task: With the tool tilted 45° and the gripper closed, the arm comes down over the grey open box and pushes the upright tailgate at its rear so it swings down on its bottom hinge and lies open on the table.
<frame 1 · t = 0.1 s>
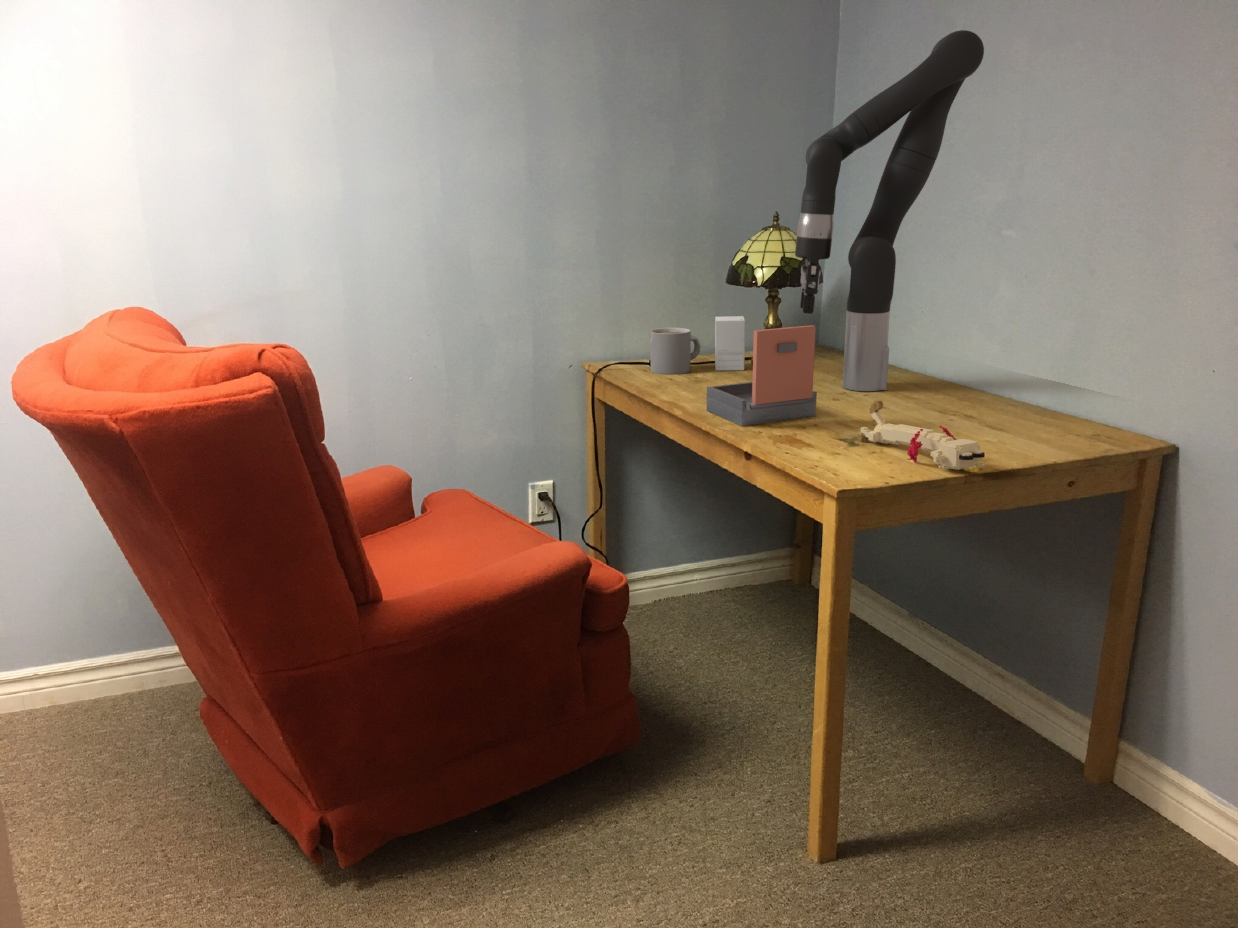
hand: (806, 310, 203), 17 cm above the table, tool pointing down, fingers open, 8 cm apart
supplement box: (729, 368, 231), on the table
coffee mug: (676, 370, 230), on the table
tailgate: (784, 368, 175), point 11 cm above the table, hinge at 0.0°
grey open box: (760, 413, 186), on the table
cream blocky figure: (920, 458, 156), on the table
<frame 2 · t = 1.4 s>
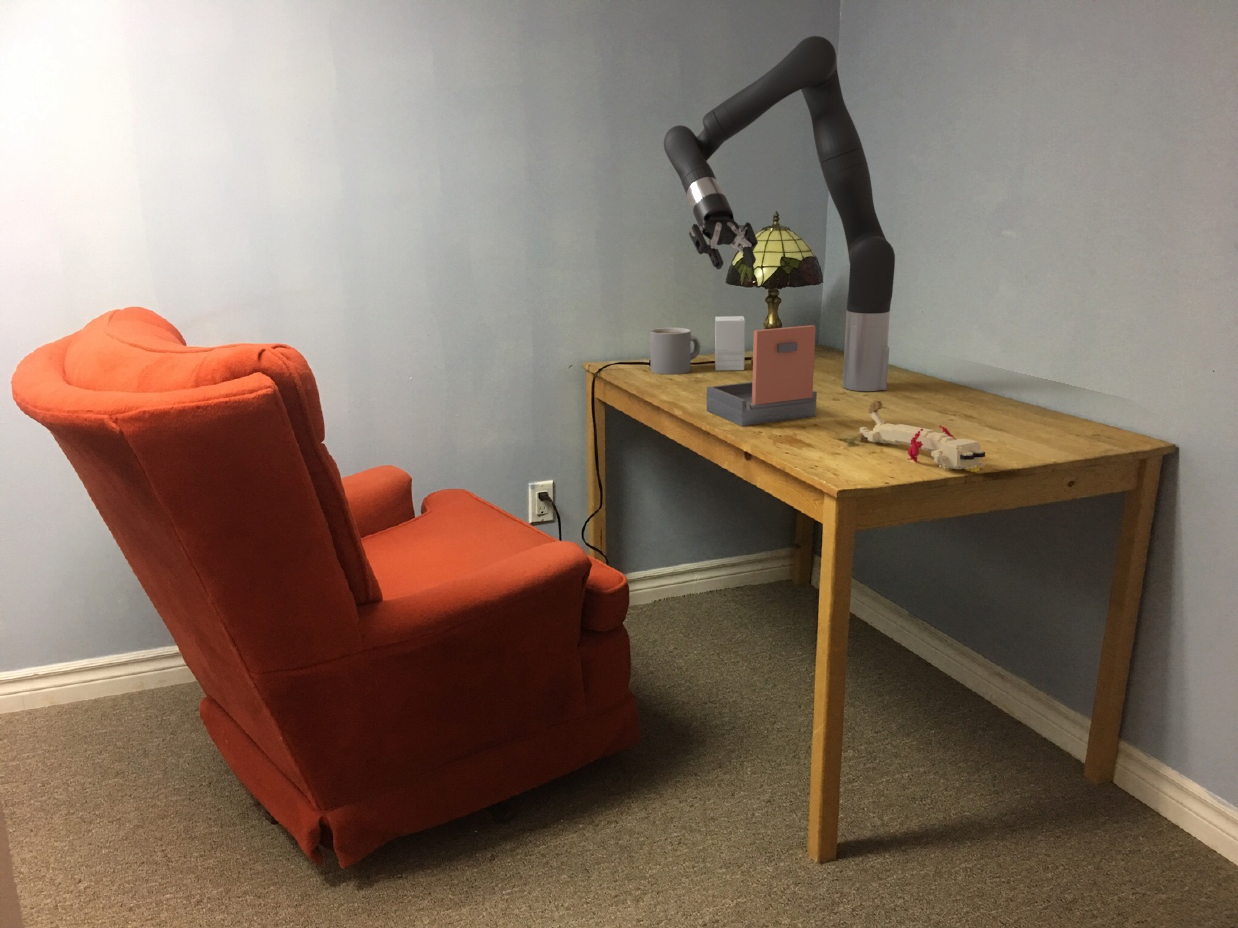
hand: (736, 265, 186), 29 cm above the table, tool tilted 45°, fingers open, 7 cm apart
nothing on the table moved.
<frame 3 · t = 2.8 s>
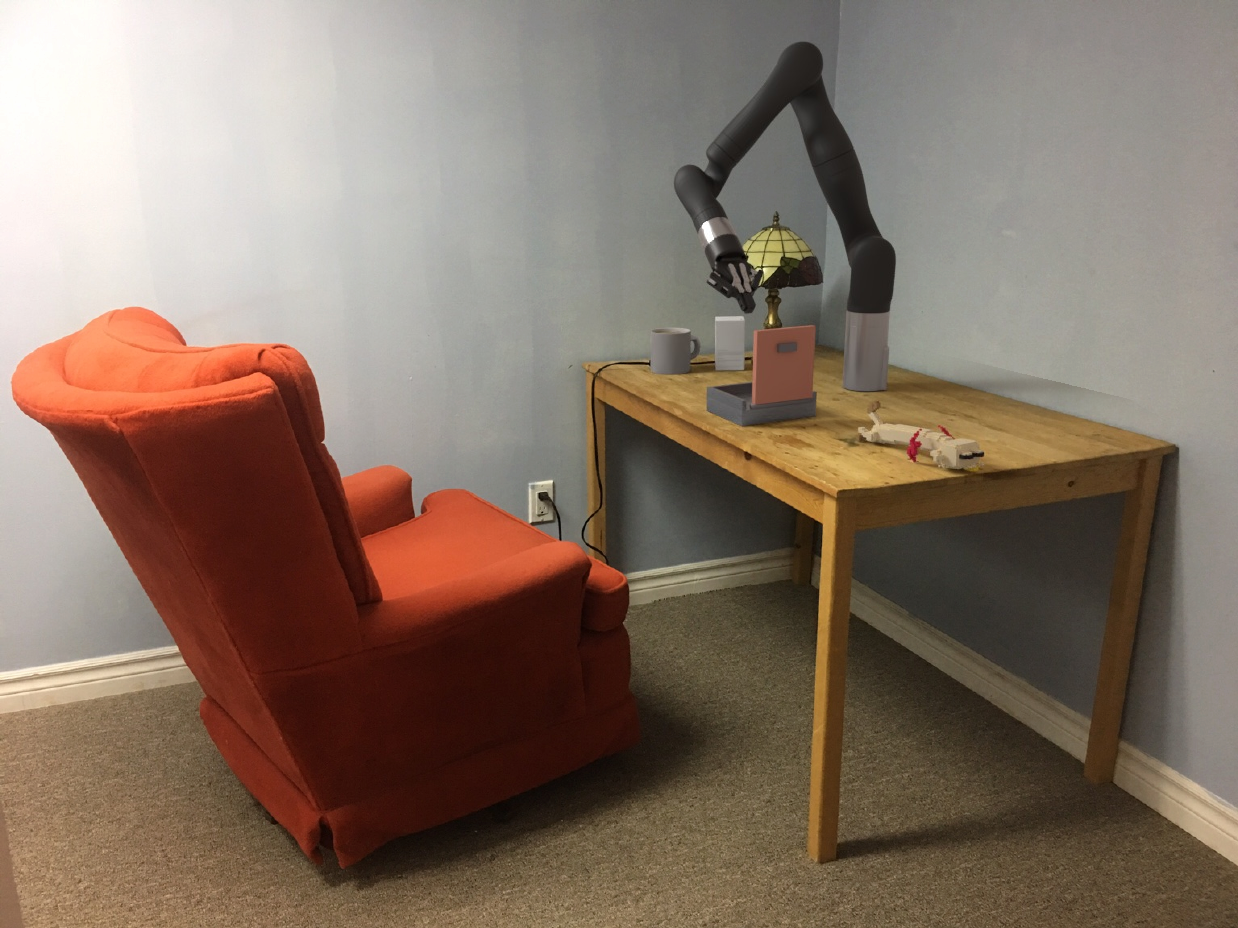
hand: (750, 311, 184), 20 cm above the table, tool tilted 45°, fingers closed
nothing on the table moved.
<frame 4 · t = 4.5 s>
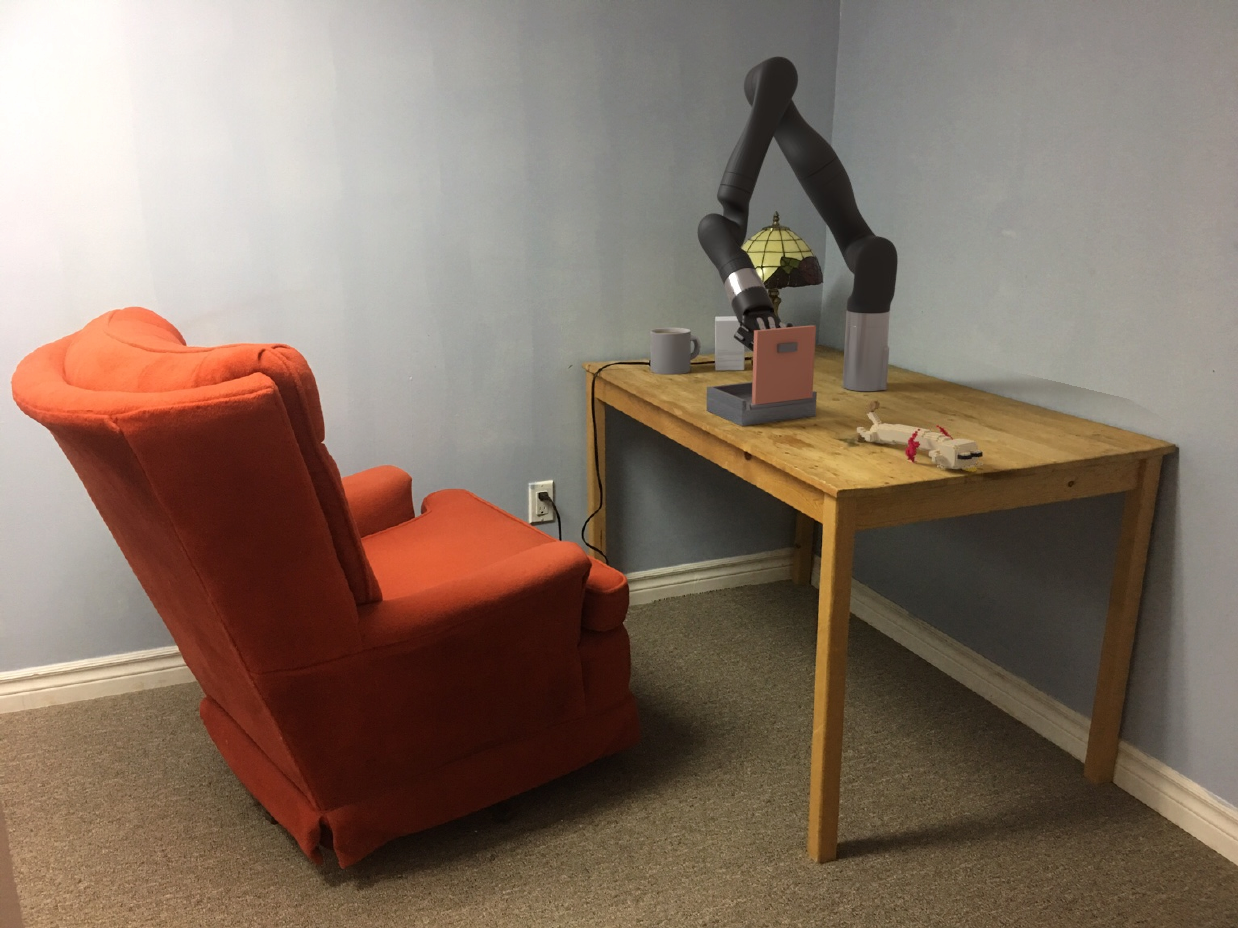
hand: (779, 367, 177), 11 cm above the table, tool tilted 45°, fingers closed
tailgate: (784, 368, 175), point 11 cm above the table, hinge at 0.4°, touching gripper
everything else where it was.
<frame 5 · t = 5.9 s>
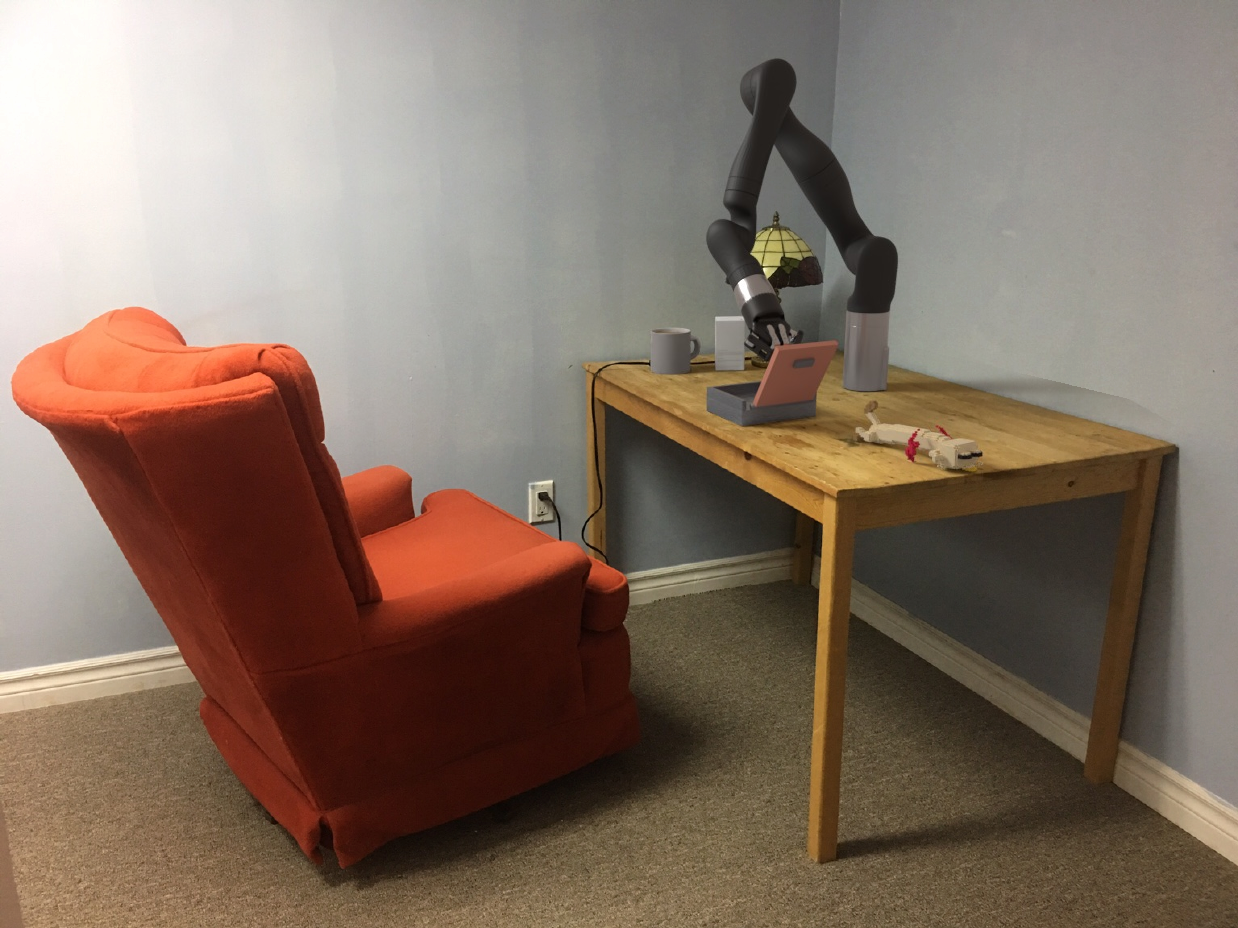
hand: (790, 375, 173), 10 cm above the table, tool tilted 45°, fingers closed
tailgate: (795, 377, 173), point 10 cm above the table, hinge at 31.3°, touching gripper
everything else where it was.
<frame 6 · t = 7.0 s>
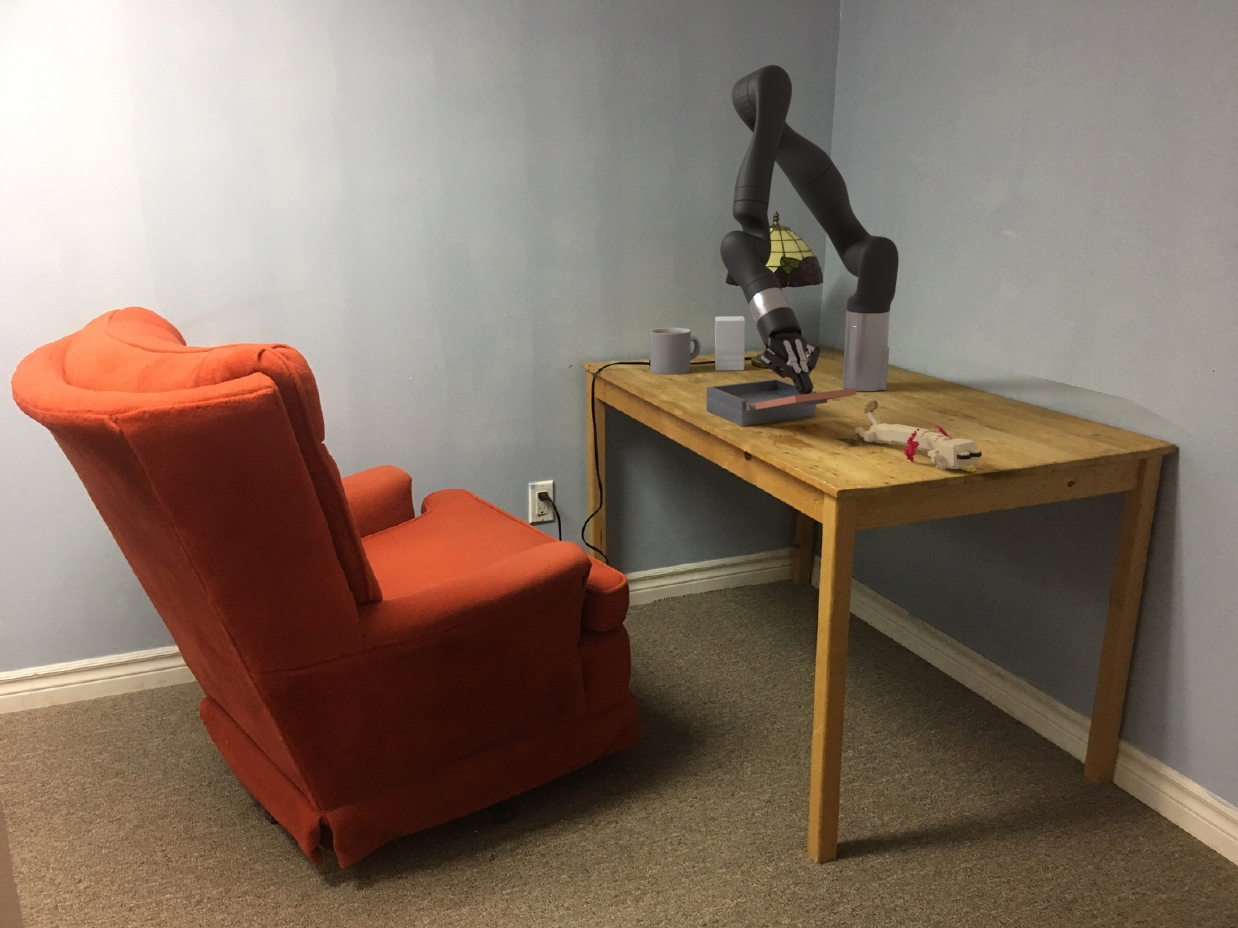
hand: (807, 393, 169), 8 cm above the table, tool tilted 45°, fingers closed
tailgate: (802, 401, 171), point 6 cm above the table, hinge at 72.5°
everything else where it was.
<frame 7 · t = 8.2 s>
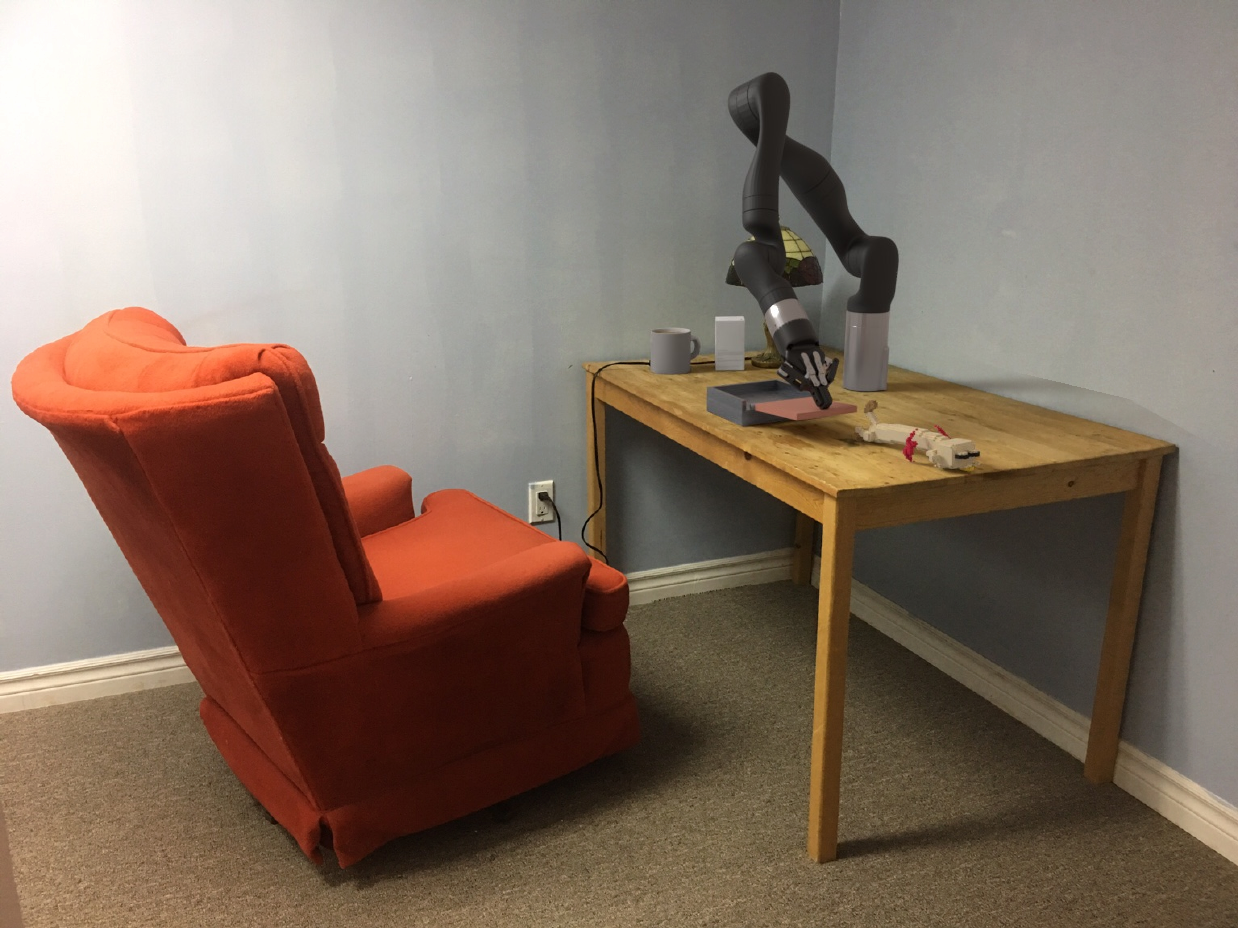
hand: (826, 406, 164), 6 cm above the table, tool tilted 45°, fingers closed
tailgate: (803, 409, 171), point 4 cm above the table, hinge at 85.3°
everything else where it was.
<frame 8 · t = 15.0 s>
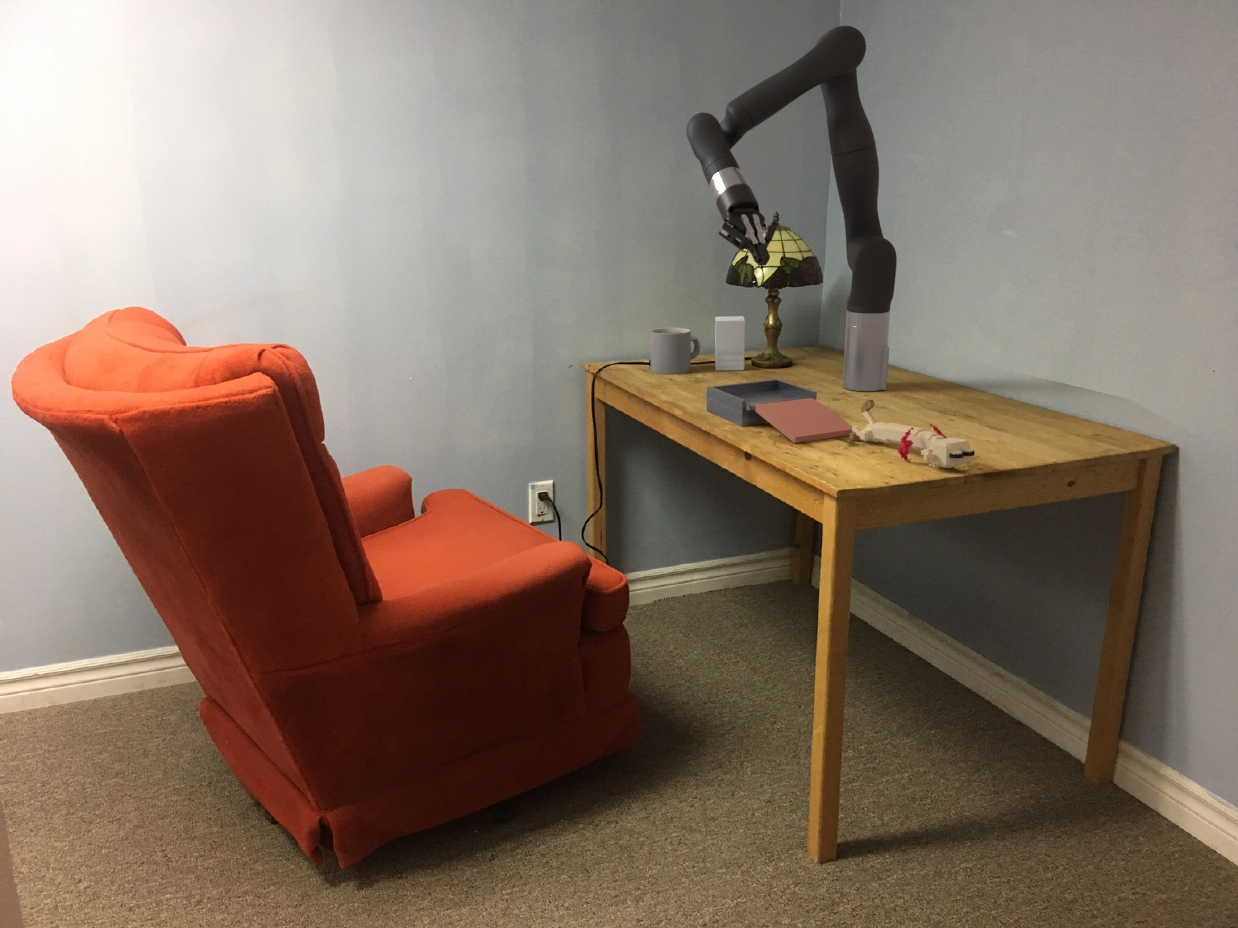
hand: (764, 262, 177), 30 cm above the table, tool tilted 45°, fingers closed
tailgate: (801, 419, 172), point 2 cm above the table, hinge at 102.4°
at the end: tailgate at +102° (first picture: +0°); tailgate tilted 102° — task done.
